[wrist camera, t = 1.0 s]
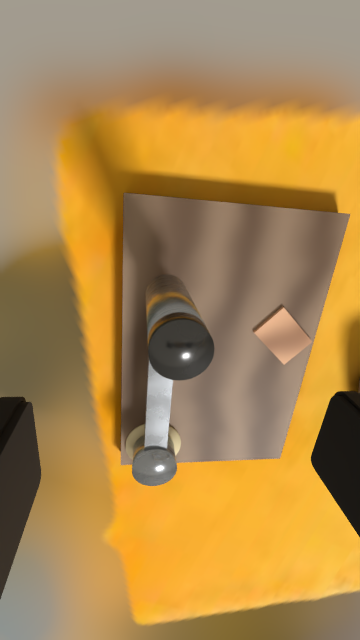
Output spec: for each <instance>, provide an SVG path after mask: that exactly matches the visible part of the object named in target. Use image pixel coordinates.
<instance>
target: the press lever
mask: <svg viewBox="0 0 360 640" xmlns="http://www.w3.org/2000/svg"><path fill="white" fill-rule="evenodd" d="M146 313H147V337H148V368H147V388H146V408H145V429H144V435H143V436H142V437H140V438H139V439H138V440H137V441H136V442H135V444H134V446H133V465H132V474H133V477H134V478H135V479H136V481H138V482H139V483H141V484H143V485H148V486H157V485H161V484H164V483H166V482H168V481H169V480H171V479H172V478H173V477H174V475H175V473H176V470H177V465H176V457H175V449H174V443H173V441H172V439H171V438H170V437H168V431H169V420H170V409H171V398H172V386H173V380H178V381H180V380H188V379H191V378H194V377H196V376H198V375H200V374H201V373H202V372H204V371H205V370H206V369H207V367H208V366H209V365H210V363H211V361H212V359H213V356H214V342H213V339H212V337H211V335H210V333H209V331H208V329H207V327H206V325H205V323H204V321H203V319H202V317H201V315H200V313H199V312H198V310H197V308H196V306H195V304H194V302H193V300H192V298H191V296H190V294H189V292H188V290H187V288H186V286H185V284H184V283H183V281H182V280H181V279H179V278H178V277H176V276H174V275H169V274H164V275H160V276H157V277H156V278H154V279H153V280H152V281H151V282H150V283H149V285H148V286H147V289H146Z"/></svg>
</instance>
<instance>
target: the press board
mask: <svg viewBox="0 0 360 640" xmlns="http://www.w3.org/2000/svg"><path fill="white" fill-rule="evenodd" d="M349 217H350V214H344V213H334V212H323V211H313V210H302V209H291V208H281V207H270V206H260V205H249V204H239V203H228V202H217V201H207V200H196V199H186V198H175V197H165V196H154V195H144V194H133V193H124V207H123V304H122V401H121V465H130V464H133V446H134V444H135V442H136V441H137V440H138V439H139V438H140V437H142V436H143V435H144V429H145V408H146V388H147V368H148V337H147V313H146V289H147V286H148V285H149V283H150V282H151V281H152V280H153V279H154V278H156V277H157V276H160V275H164V274H169V275H174V276H176V277H178V278H179V279H181V280H182V281H183V283H184V284H185V286H186V288H187V290H188V292H189V294H190V296H191V298H192V300H193V302H194V304H195V306H196V308H197V310H198V312H199V313H200V315H201V317H202V319H203V321H204V323H205V325H206V327H207V329H208V331H209V333H210V335H211V337H212V339H213V342H214V356H213V359H212V361H211V363H210V365H209V366H208V367H207V369H206V370H205V371H204V372H202V373H201V374H200V375H198V376H196V377H194V378H191V379H188V380H180V381H178V380H173V386H172V398H171V409H170V420H169V431H168V437H170V438H171V439H172V441H173V443H174V449H175V457H176V463H179V462H204V461H229V460H253V459H278V458H280V456H281V453H282V450H283V446H284V443H285V439H286V436H287V432H288V429H289V425H290V422H291V418H292V415H293V411H294V408H295V404H296V401H297V397H298V394H299V390H300V387H301V383H302V380H303V377H304V373H305V370H306V366H307V363H308V359H309V356H310V352H311V349H312V345H313V342H314V338H315V335H316V331H317V328H318V324H319V321H320V317H321V314H322V311H323V307H324V304H325V300H326V297H327V293H328V290H329V286H330V283H331V279H332V276H333V272H334V269H335V265H336V262H337V258H338V255H339V251H340V248H341V245H342V241H343V238H344V234H345V231H346V227H347V224H348V220H349Z"/></svg>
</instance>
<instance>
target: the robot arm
mask: <svg viewBox="0 0 360 640" xmlns="http://www.w3.org/2000/svg"><path fill="white" fill-rule="evenodd" d="M311 462H312V465H313V467H314V469H315V471H316V472H317V474H318V475H319V477H320V478H321V480H322V481H323V483H324V484H325V486H326V487H327V489H328V490H329V492H330V493H331V495H332V496H333V498H334V499H335V501H336V502H337V504H338V505H339V507H340V508H341V510H342V511H343V513H344V514H345V516H346V517H347V519H348V520H349V522H350V523H351V525H352V526H353V528H354V529H355V531H356V532H357V534H358V535H359V537H360V393H358V392H355V391H340V392H337V393H336V394H335V395H334V396H333V397H332V398H331V399H330V402H329V405H328V408H327V411H326V414H325V417H324V420H323V423H322V426H321V429H320V431H319V434H318V437H317V440H316V443H315V446H314V449H313V452H312V455H311ZM40 479H41V467H40V460H39V452H38V445H37V438H36V430H35V422H34V414H33V406H32V403H31V402H26V401H25V398H24V397H1V398H0V599H1V595H2V593H3V590H4V587H5V584H6V581H7V578H8V575H9V572H10V569H11V566H12V563H13V560H14V557H15V554H16V552H17V549H18V546H19V543H20V540H21V537H22V534H23V531H24V528H25V525H26V522H27V519H28V516H29V513H30V510H31V507H32V504H33V502H34V498H35V496H36V493H37V490H38V487H39V484H40Z"/></svg>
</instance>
